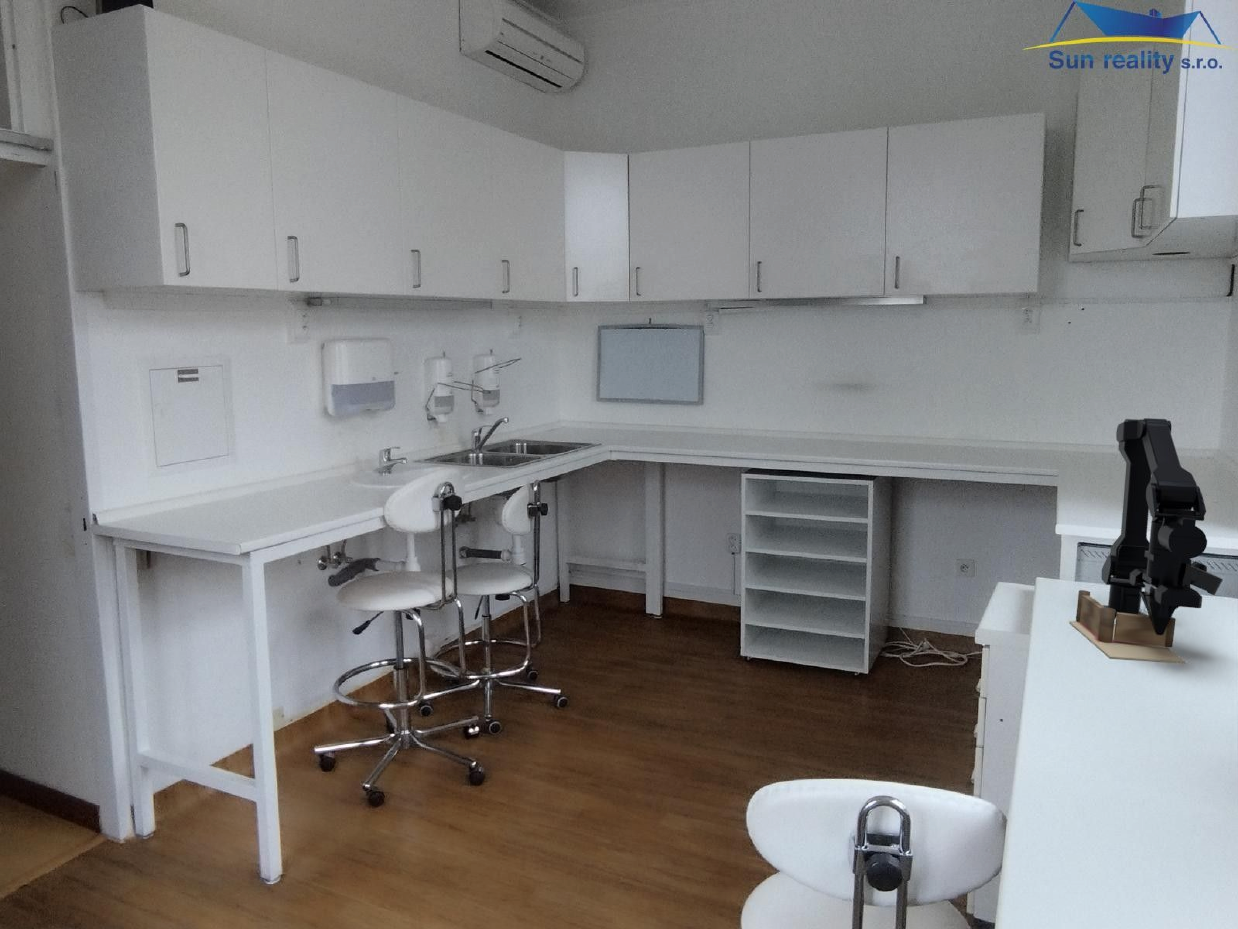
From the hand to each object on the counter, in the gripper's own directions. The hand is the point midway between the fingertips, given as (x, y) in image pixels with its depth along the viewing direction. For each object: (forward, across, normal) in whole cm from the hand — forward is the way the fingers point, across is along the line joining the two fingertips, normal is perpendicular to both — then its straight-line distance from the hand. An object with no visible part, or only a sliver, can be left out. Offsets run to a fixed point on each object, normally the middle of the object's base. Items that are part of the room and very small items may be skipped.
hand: (1159, 635), depth 164 cm
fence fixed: (+3, +10, +8) cm, 13 cm away
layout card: (+3, +5, +4) cm, 7 cm away
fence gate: (+2, +3, +2) cm, 4 cm away
